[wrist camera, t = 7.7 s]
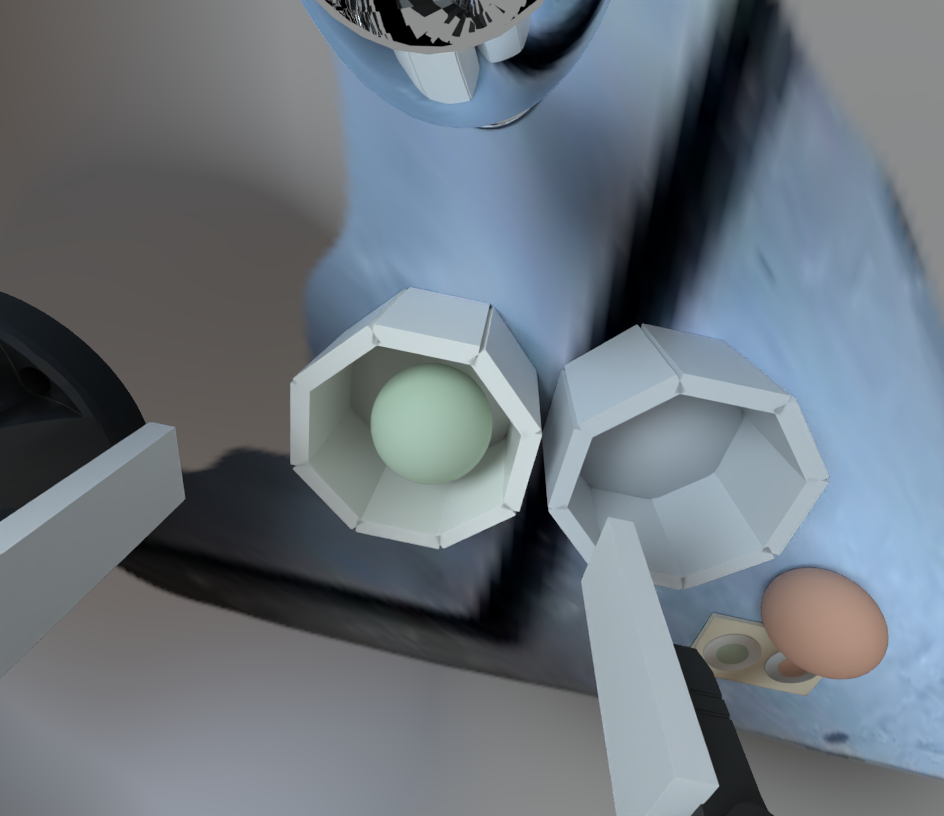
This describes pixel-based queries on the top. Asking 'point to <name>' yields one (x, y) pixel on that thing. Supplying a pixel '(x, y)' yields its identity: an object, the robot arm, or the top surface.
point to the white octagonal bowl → (352, 399)
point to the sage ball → (431, 423)
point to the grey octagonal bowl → (679, 454)
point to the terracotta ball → (824, 623)
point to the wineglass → (459, 52)
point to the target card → (749, 656)
